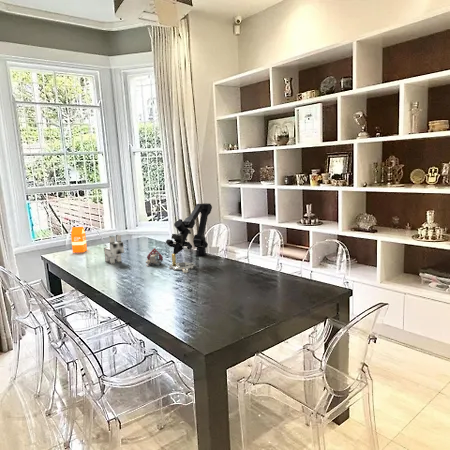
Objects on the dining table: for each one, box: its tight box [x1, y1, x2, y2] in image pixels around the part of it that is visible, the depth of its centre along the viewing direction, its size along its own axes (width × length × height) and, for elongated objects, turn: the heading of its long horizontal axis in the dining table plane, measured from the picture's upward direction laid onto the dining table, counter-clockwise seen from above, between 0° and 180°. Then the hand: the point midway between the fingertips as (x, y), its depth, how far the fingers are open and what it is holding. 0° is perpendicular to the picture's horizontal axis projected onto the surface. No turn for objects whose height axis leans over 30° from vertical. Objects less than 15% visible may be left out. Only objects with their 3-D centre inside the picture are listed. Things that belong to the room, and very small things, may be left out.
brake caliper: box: [145, 248, 164, 267], centre depth 265 cm, size 11×11×12 cm
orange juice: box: [70, 226, 88, 254], centre depth 313 cm, size 8×9×20 cm
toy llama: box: [103, 233, 125, 265], centre depth 275 cm, size 8×18×20 cm, turn 42°
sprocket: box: [168, 252, 197, 271], centre depth 257 cm, size 18×18×9 cm
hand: (173, 255), depth 258 cm, fingers closed
